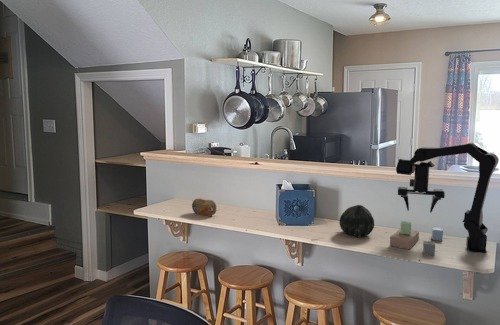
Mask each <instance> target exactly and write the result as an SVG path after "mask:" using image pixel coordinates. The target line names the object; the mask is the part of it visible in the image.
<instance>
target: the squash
mask: <svg viewBox="0 0 500 325" xmlns="http://www.w3.org/2000/svg"><path fill="white" fill-rule="evenodd" d="M338 222H339V227H340V229H341V230H342V232H344V233H346V234H347V235H351V236H354V237H356V238H359V237H361V238H364V237H366V236H368V235H369V234H371V233H372V232H373V230H374V228H375V218H374V216H373V214H372V213H371V211H370V210H369V209H367V208H366V207H365V206H364V205H362V204H356V205H352V206H349V207H347V208H346V209H345V210H344V211H343V213H341V215H340V218H339V220H338Z"/></svg>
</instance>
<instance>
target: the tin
mask: <svg viewBox="0 0 500 325" xmlns="http://www.w3.org/2000/svg"><path fill="white" fill-rule="evenodd" d="M191 208H192V211H193V212H194V214H195V215H199V216H205V217H213V216H214V215H215V214H216V212H217V204H216V203H215V201H214V200H212V199H205V198H195V199H194V200H193V202H192V204H191Z"/></svg>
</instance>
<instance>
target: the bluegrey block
mask: <svg viewBox="0 0 500 325" xmlns="http://www.w3.org/2000/svg"><path fill="white" fill-rule="evenodd" d="M443 235H444V230H443V227H431V239H432V240H433V241H443V237H444V236H443Z"/></svg>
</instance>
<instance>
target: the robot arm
mask: <svg viewBox="0 0 500 325" xmlns="http://www.w3.org/2000/svg"><path fill="white" fill-rule="evenodd" d="M462 154H463V155H464V154H468V155H469V156H470V157H472V158H473V159H474V160H475V162H478V172H479V174H478V175H479V176H478V181H477V183H476V184H477V185H476V188H475V193H474V196H473V200H472V205H471V208H470V210H469V209H468V210H466V211H465V212H464V216H463V220H462V221H461V222H462V223H463V227H464V229H465V230H466V231H467V233H468V236H466V240H465V241H466V244H465V245H466V248H467V250H468V251H469V252H479V253H487V252H488V251H487V243H488V242H487V241H488V236H487V234H486V233H487V232H488V230H489V228H488V227H487V226H486V225H485V224H484V223H483V221H484V220H483V218H484V213H483V208H484V204H485V202H486V201H485V200H486V197H487V193H488V190H489V186H490V180H491V177H492V176H493V174H494V172H495V169H496V167H497V166H498V164H499V160H500V159H499V157H498V156H497V155H496V153H493V152H488V151H487V150H485V149H483V148H481V147H479V146H478V145H476V144H475V143H473V142H467V143H464V144H457V145H450V146H449V145H448V146H441V147H434V146H423V147H420V148H419V147H418V148H416V150H414V155H413V156H412V157H411V159H404V158H398V162H397V164H396V167H395V170H396V171H395V172H396V174H397V175H405V176H406V175H407V176H412V174H414V178H413V179H412V178H410V179H409V187H411V188H412V189H410V188H409V189H408V187H407V186H399V187H397V195H398V196H400V198H403V200H404V202H405V206H406V210H407V212H409V211H410V210H409V209H410V206H409V205H410V204H409V196H408V195H409V194H411V195H423V196H424V195H425V196H426V195H427V196H431V197H432V198H431V203H430V208H429V213H432V212H433V210H434V208H435V206H436V204H437V203H438V201H441V200H442V199H445V196H446V194H445V193H446V192H445V191H444V190H443V189H441V188H433V190H429V180H430V178H429V177H430V168H434V167H435V164H434V163H433V162H432V159H435V158H439V157H440V158H441V157H447V156H455V155H462ZM428 160H429V161H428ZM425 161H427V162H425ZM419 162H420V163H419Z"/></svg>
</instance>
